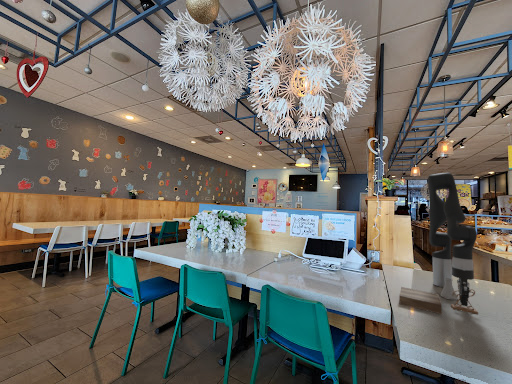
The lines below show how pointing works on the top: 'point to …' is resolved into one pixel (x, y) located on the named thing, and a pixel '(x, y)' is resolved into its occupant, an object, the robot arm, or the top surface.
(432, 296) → the walnut plinth
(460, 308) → the gingerbread man figurine
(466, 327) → the top surface
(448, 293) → the flask
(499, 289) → the top surface
